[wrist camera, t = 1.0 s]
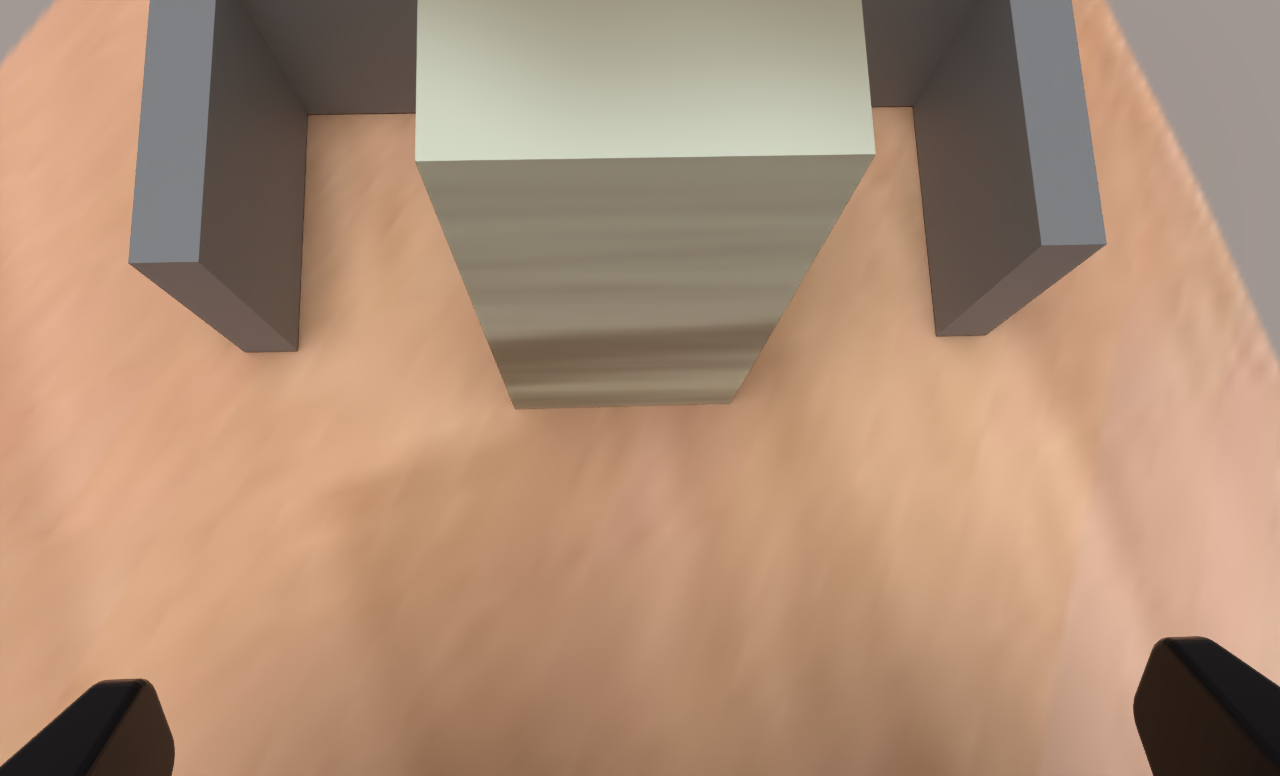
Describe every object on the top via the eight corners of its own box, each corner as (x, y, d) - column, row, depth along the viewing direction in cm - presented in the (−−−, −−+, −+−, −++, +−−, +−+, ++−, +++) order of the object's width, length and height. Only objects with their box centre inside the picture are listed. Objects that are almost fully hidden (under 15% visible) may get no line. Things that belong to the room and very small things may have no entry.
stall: (985, 335, 24) (1106, 244, 19) (245, 352, 24) (128, 262, 18) (955, 62, 26) (1056, -100, 20) (260, 70, 25) (157, -97, 19)
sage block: (730, 403, 24) (875, 153, 11) (514, 409, 24) (414, 160, 11) (719, 202, 25) (840, -231, 12) (513, 206, 25) (420, -230, 12)
